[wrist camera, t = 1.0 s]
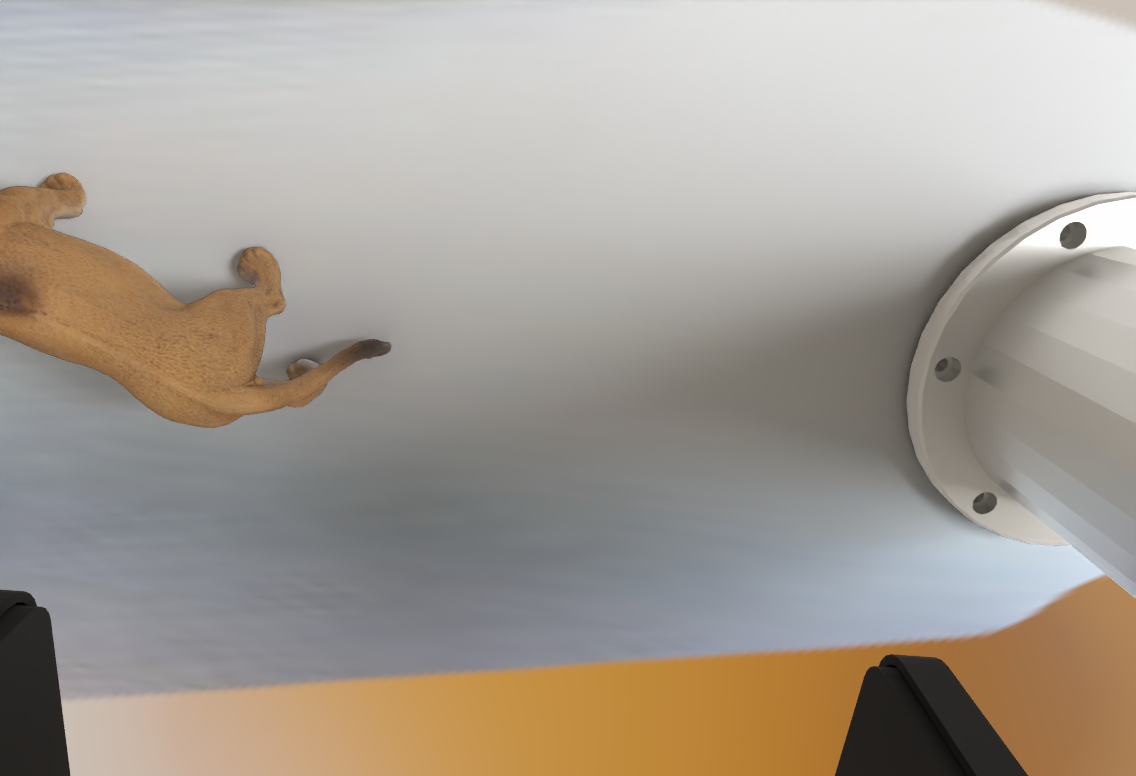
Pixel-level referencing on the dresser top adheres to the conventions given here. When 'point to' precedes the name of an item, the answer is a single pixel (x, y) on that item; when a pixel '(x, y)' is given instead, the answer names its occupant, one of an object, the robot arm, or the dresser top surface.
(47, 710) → the robot arm
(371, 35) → the dresser top surface
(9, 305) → the lion figurine
